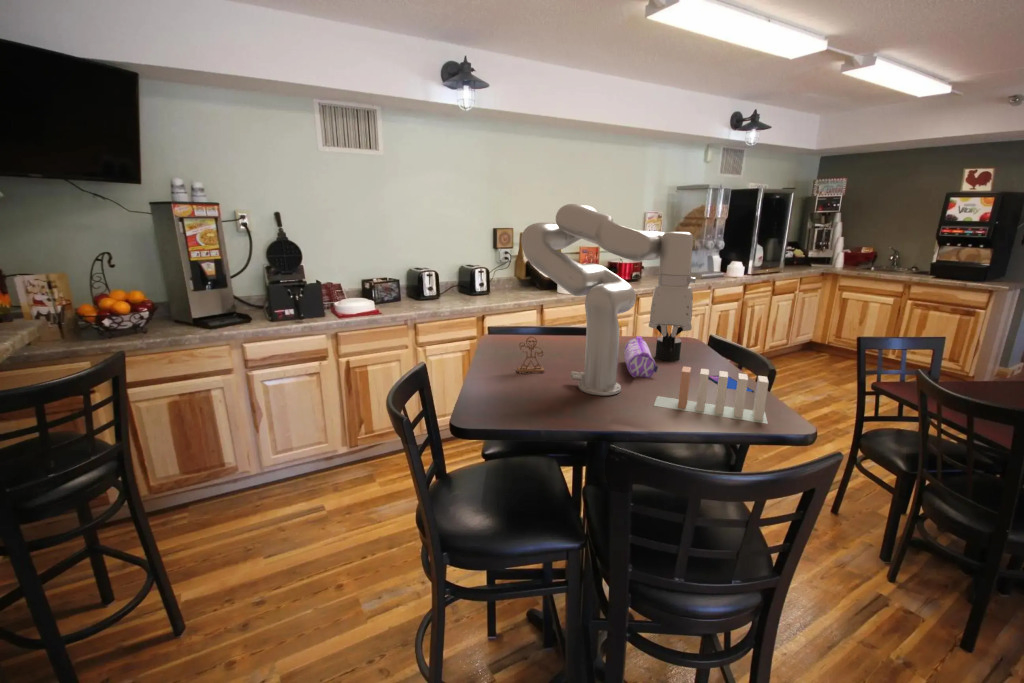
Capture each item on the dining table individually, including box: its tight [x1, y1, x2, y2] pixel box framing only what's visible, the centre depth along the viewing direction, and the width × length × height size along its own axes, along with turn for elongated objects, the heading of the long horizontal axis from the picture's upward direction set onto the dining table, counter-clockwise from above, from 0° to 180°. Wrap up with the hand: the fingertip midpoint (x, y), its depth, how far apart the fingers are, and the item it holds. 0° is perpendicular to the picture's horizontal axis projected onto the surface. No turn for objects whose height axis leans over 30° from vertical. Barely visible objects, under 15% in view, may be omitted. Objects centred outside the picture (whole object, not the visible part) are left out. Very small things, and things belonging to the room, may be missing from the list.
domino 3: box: [714, 370, 729, 414], centre depth 120 cm, size 2×5×10 cm, turn 156°
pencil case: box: [623, 336, 659, 379], centre depth 158 cm, size 22×9×10 cm, turn 172°
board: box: [653, 395, 769, 425], centre depth 122 cm, size 27×8×1 cm, turn 66°
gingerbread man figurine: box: [516, 336, 546, 373], centre depth 154 cm, size 9×4×12 cm, turn 95°
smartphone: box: [708, 375, 754, 393], centre depth 145 cm, size 7×1×15 cm
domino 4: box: [733, 372, 749, 418], centre depth 118 cm, size 2×5×10 cm, turn 156°
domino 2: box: [696, 368, 710, 411], centre depth 122 cm, size 2×5×10 cm, turn 156°
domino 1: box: [678, 365, 692, 409], centre depth 124 cm, size 2×5×10 cm, turn 156°
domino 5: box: [752, 375, 770, 421], centre depth 117 cm, size 2×5×10 cm, turn 156°
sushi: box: [655, 336, 682, 362], centre depth 173 cm, size 8×8×8 cm
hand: (667, 350), depth 123 cm, fingers closed
